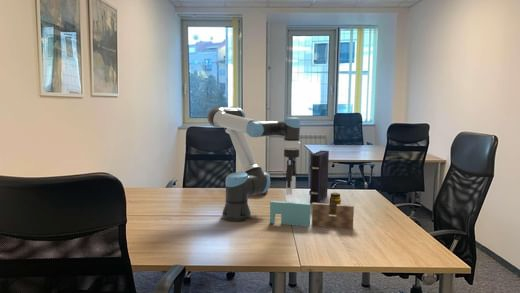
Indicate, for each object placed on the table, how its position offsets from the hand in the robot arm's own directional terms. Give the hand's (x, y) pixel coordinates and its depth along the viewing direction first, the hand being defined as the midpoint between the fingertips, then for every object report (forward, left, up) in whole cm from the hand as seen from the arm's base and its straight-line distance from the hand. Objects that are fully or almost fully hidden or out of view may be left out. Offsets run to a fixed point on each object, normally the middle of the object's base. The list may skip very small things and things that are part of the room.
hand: (290, 191), depth 191 cm
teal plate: (0, 0, -17) cm, 17 cm away
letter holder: (-34, +62, -17) cm, 73 cm away
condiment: (+21, +22, -17) cm, 35 cm away
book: (+11, +57, -17) cm, 61 cm away
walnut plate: (+21, +2, -17) cm, 27 cm away
